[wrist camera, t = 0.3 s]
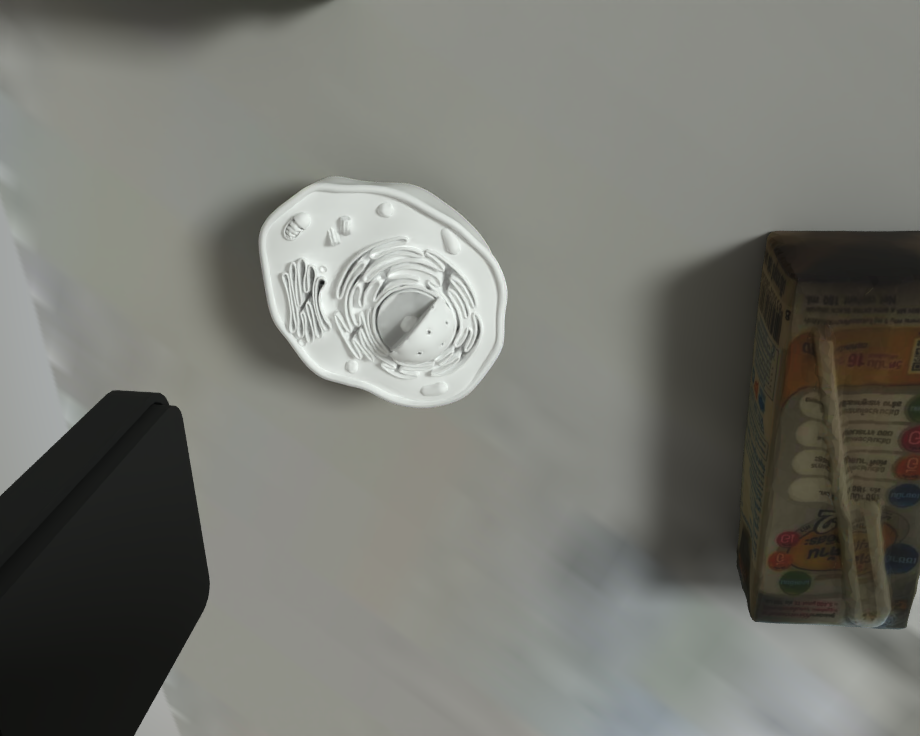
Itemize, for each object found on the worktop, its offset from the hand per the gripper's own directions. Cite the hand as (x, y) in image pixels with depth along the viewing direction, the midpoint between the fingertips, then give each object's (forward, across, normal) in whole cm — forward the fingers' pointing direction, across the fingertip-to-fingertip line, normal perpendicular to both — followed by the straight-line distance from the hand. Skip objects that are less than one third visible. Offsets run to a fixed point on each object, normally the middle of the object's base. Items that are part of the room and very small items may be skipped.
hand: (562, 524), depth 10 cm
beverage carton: (+31, -14, +14) cm, 37 cm away
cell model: (+31, +8, +8) cm, 33 cm away
